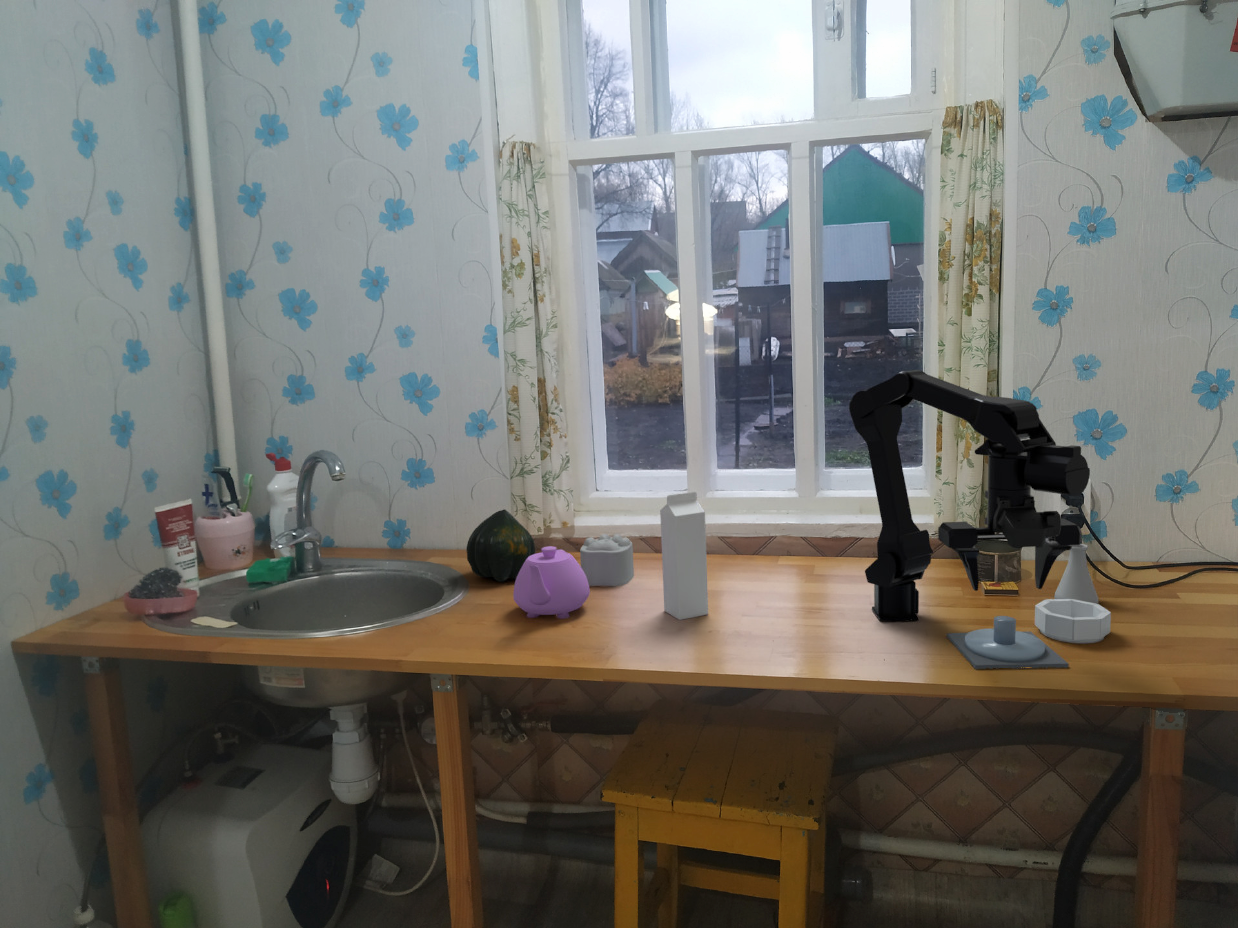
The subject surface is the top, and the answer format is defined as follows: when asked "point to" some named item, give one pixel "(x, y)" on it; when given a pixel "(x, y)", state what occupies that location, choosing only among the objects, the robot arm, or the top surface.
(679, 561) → the milk
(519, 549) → the squash
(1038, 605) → the bowl
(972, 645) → the lid
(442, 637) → the top surface
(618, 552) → the grey lumpy-topped tub
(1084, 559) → the flask
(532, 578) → the teapot
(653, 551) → the top surface
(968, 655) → the plate
